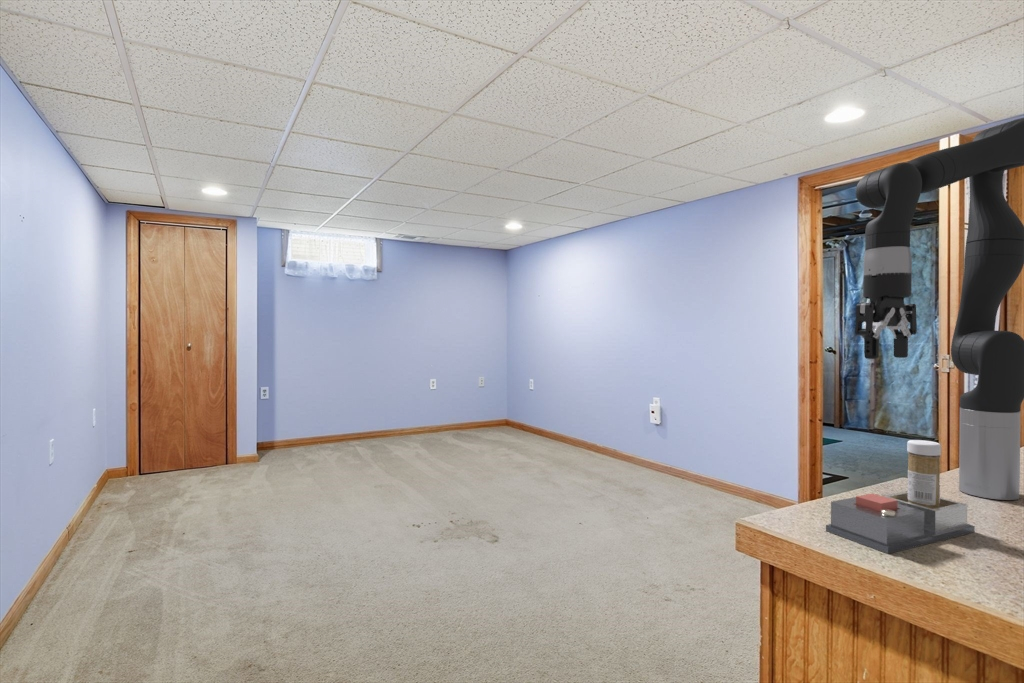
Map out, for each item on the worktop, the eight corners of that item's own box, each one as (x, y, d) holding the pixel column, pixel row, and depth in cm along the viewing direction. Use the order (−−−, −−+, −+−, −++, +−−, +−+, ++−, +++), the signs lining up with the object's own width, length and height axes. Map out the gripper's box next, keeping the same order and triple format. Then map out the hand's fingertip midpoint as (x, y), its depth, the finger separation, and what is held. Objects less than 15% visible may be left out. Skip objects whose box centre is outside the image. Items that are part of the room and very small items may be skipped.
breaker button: (871, 523, 89) (872, 493, 89) (897, 531, 85) (897, 500, 85) (855, 526, 87) (855, 496, 87) (880, 535, 84) (881, 503, 84)
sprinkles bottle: (944, 521, 90) (945, 442, 90) (933, 527, 88) (934, 445, 88) (912, 513, 94) (913, 437, 94) (901, 519, 92) (902, 440, 91)
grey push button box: (909, 513, 97) (909, 482, 97) (974, 532, 88) (974, 498, 88) (825, 531, 89) (826, 497, 89) (888, 553, 80) (888, 516, 80)
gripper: (890, 276, 108) (889, 356, 108) (842, 273, 102) (841, 358, 103) (931, 272, 101) (931, 358, 101) (882, 269, 95) (881, 360, 96)
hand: (886, 358), depth 102 cm, fingers open, 8 cm apart
